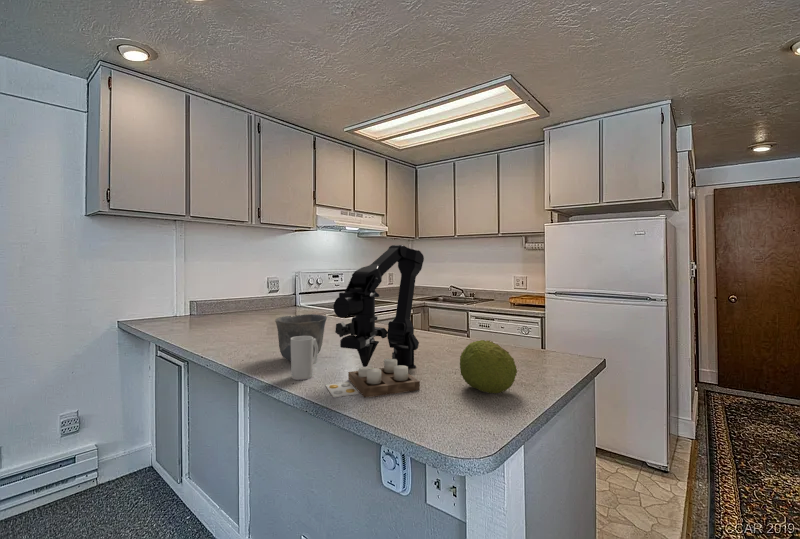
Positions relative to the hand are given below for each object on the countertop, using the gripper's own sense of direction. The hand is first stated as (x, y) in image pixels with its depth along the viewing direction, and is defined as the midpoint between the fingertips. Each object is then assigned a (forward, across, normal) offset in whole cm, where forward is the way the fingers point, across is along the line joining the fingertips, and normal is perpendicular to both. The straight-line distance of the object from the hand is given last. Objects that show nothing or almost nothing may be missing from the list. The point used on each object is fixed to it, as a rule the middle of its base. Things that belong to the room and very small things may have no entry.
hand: (365, 366), depth 115 cm
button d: (+2, +6, +6) cm, 8 cm away
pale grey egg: (+2, -6, +6) cm, 8 cm away
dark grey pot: (+5, -14, -32) cm, 36 cm away
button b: (+2, 0, +11) cm, 12 cm away
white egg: (+4, 0, 0) cm, 4 cm away
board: (+5, 0, +6) cm, 7 cm away
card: (+5, +8, -3) cm, 10 cm away
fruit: (+5, -7, +34) cm, 35 cm away
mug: (+5, +1, -20) cm, 20 cm away
